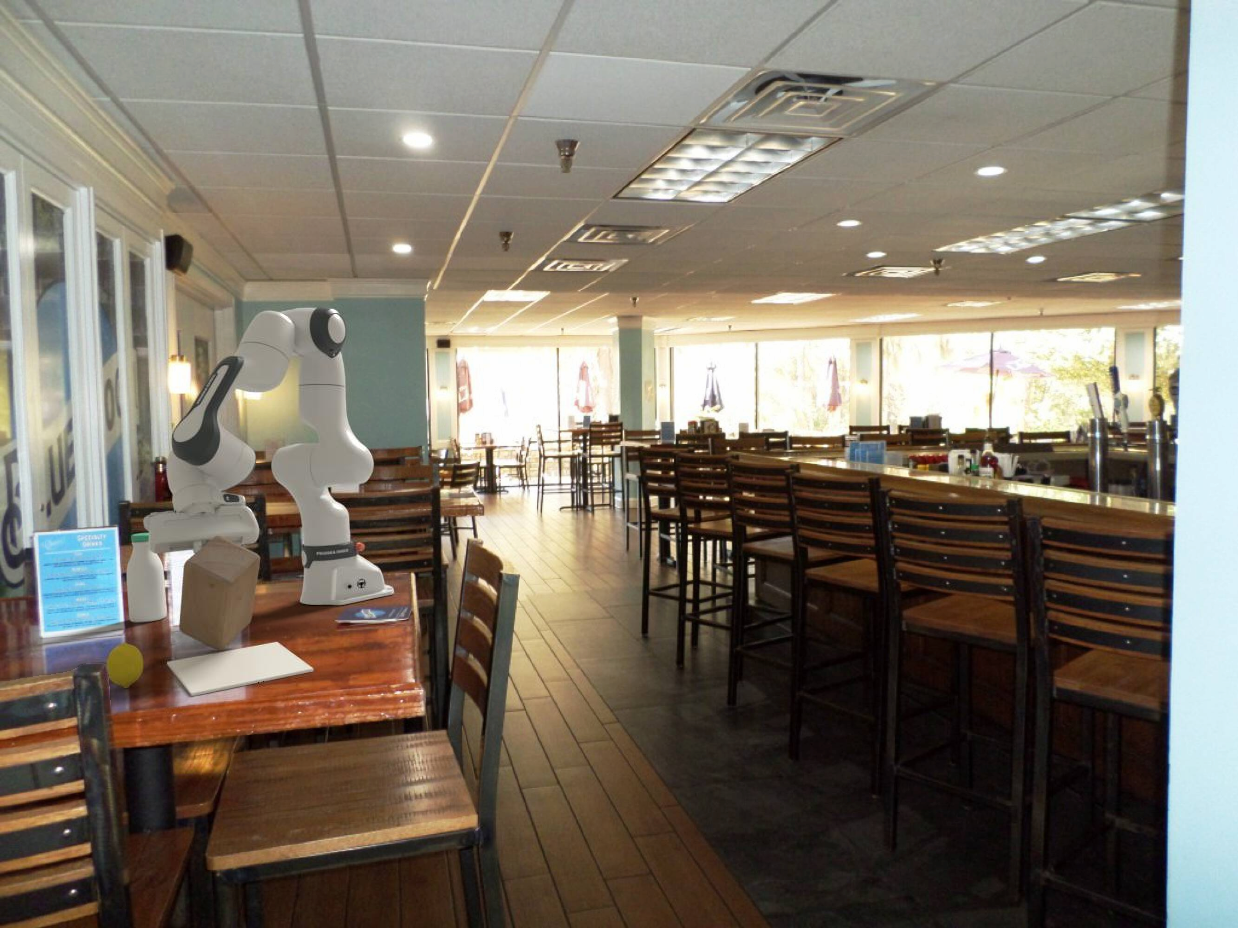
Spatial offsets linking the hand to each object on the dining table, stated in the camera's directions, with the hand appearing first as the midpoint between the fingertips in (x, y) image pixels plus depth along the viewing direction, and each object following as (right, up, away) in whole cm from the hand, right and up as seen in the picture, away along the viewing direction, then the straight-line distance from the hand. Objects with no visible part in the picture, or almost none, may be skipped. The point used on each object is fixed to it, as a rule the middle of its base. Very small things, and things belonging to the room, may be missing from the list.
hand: (211, 561), depth 172 cm
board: (+11, -18, -12) cm, 24 cm away
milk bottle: (-29, -17, +30) cm, 45 cm away
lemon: (-5, -20, -21) cm, 29 cm away
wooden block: (-1, -14, +3) cm, 14 cm away
